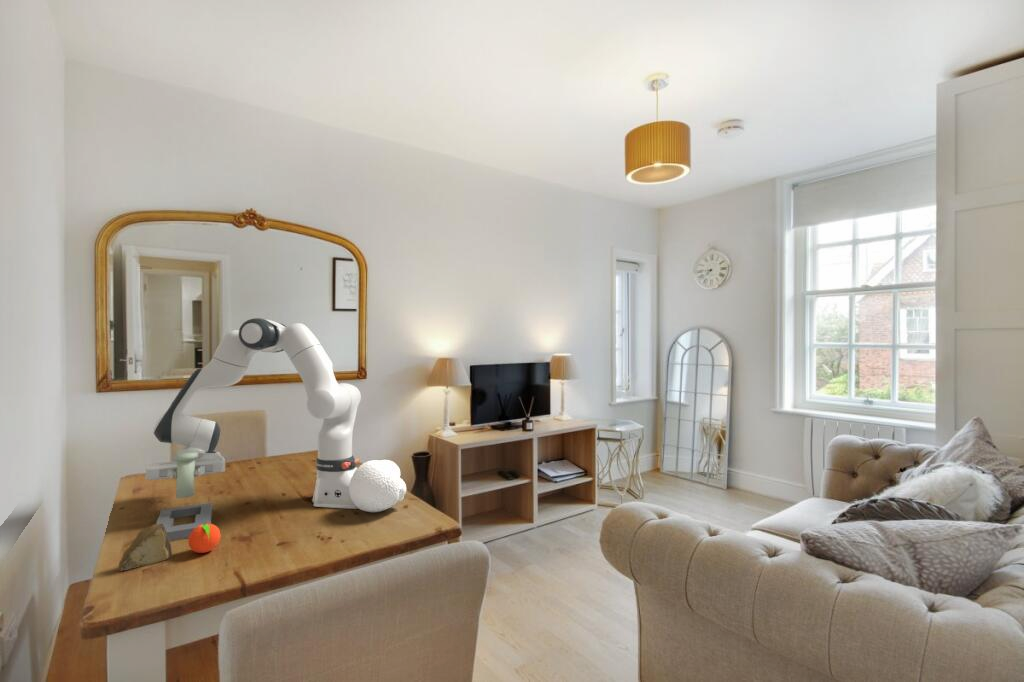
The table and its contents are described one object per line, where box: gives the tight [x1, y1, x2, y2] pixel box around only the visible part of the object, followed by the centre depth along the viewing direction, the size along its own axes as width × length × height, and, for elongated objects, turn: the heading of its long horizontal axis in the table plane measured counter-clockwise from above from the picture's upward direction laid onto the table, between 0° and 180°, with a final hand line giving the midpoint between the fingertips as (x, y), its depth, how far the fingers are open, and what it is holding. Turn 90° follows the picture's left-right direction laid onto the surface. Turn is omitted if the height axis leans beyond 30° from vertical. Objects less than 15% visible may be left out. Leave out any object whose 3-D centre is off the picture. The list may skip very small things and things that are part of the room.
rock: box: [118, 523, 173, 572], centre depth 115 cm, size 10×8×10 cm
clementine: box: [187, 523, 222, 554], centre depth 120 cm, size 8×7×7 cm
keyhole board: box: [155, 502, 213, 542], centre depth 138 cm, size 22×13×2 cm, turn 31°
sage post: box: [173, 452, 198, 499], centre depth 142 cm, size 6×6×12 cm
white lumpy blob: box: [349, 459, 407, 513], centre depth 152 cm, size 20×18×16 cm
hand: (185, 474), depth 141 cm, fingers closed on sage post, 4 cm apart
